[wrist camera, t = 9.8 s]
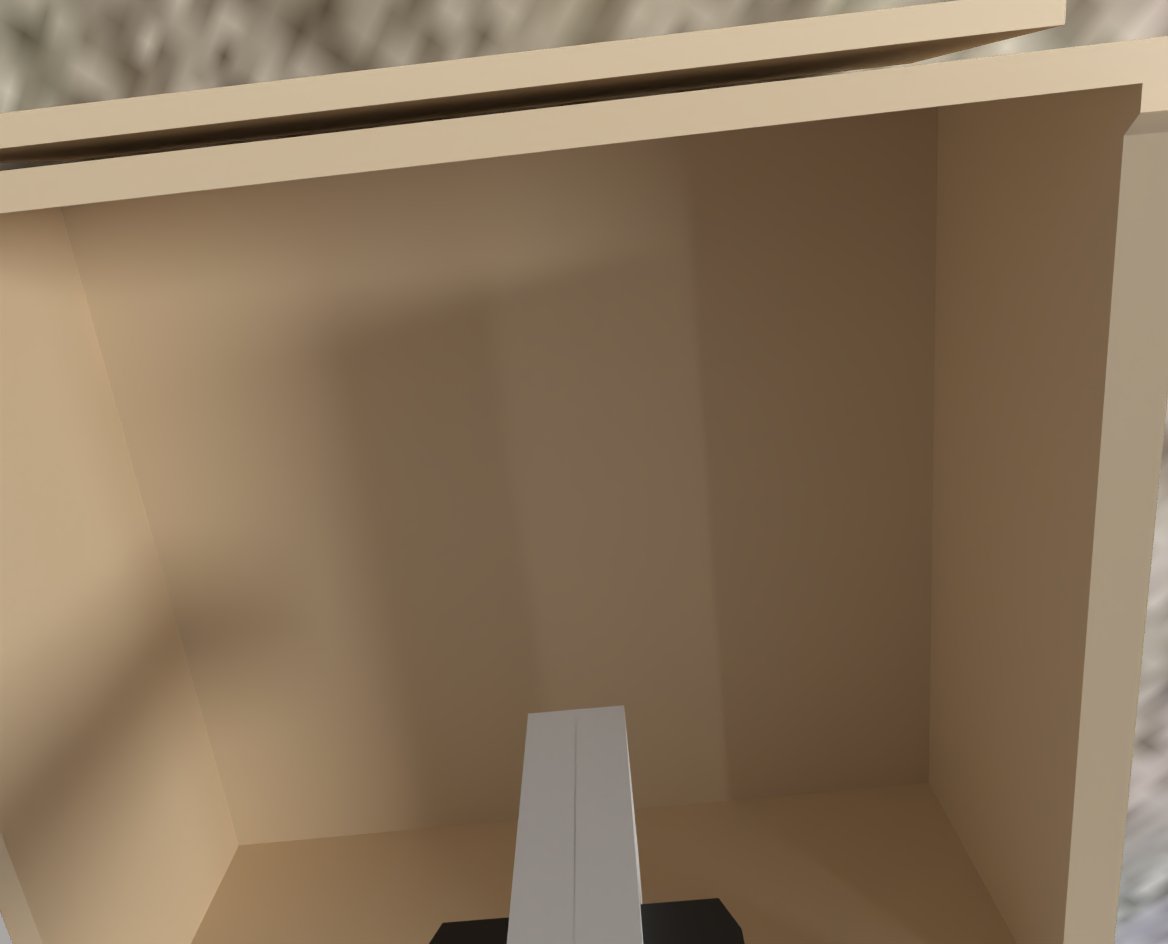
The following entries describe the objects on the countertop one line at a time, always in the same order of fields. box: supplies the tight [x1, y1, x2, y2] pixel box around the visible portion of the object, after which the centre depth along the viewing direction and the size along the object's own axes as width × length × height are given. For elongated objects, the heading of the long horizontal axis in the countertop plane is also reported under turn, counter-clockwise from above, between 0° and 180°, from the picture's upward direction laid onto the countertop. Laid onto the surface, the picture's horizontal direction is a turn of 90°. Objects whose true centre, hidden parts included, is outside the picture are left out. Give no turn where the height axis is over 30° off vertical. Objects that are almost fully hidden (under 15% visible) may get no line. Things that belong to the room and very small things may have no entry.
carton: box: [0, 0, 1168, 944], centre depth 22 cm, size 22×22×9 cm
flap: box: [1063, 110, 1168, 944], centre depth 14 cm, size 18×1×7 cm, turn 6°
